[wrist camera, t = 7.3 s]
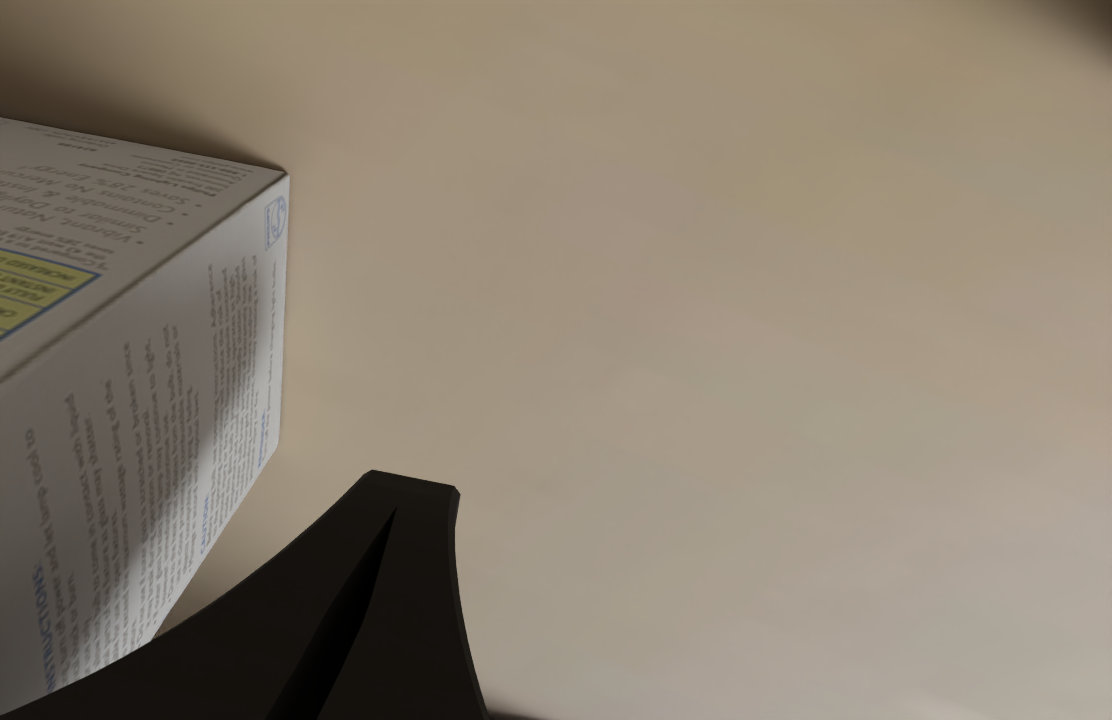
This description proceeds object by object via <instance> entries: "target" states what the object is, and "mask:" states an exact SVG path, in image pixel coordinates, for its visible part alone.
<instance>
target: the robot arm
mask: <svg viewBox="0 0 1112 720" xmlns="http://www.w3.org/2000/svg"><path fill="white" fill-rule="evenodd" d="M459 500H460V493H459V492H458V490H457V489H456V488H455V486H452V485H447V484H442V483H437V482H432V481H427V480H422V479H417V478H412V477H407V476H402V475H397V474H392V473H387V472H382V471H377V470H370V471H369V472H367V473H365V474H364V475H363V476H362V477H361V478H360V479H359V480H358V481H357V482H356V483H355V484H354V485H353V486H352V487H351V488H350V489H349V490H348V491H347V492H346V493H345V494H344V495H343V496H342V497H341V498H340V499H339V500H338V501H337V502H336V503H335V504H334V505H333V506H331V507H330V508H329V509H328V510H327V511H326V512H325V513H324V514H323V515H322V516H321V517H320V518H318V519H317V520H316V521H315V522H314V523H313V524H312V525H311V526H309V527H308V528H307V529H306V530H305V531H304V532H302V533H301V534H300V535H299V536H298V537H297V538H295V539H294V540H293V541H292V542H291V543H290V544H289V545H287V546H286V547H285V548H284V549H283V550H281V551H280V552H279V553H278V554H277V555H275V556H274V557H273V558H272V559H270V560H269V561H268V562H266V563H265V564H264V565H262V566H261V567H260V568H258V569H257V570H256V571H255V572H253V573H252V574H251V575H249V576H248V577H247V578H245V579H244V580H243V581H241V582H240V583H239V584H237V585H236V586H235V587H234V588H232V589H231V590H229V591H228V592H227V593H225V594H224V595H222V596H221V597H219V598H218V599H217V600H215V601H214V602H212V603H211V604H209V605H208V606H206V607H205V608H203V609H202V610H200V611H199V612H197V613H196V614H194V615H193V616H191V617H189V618H188V619H186V620H185V621H183V622H182V623H180V624H178V625H177V626H175V627H174V628H172V629H170V630H169V631H167V632H166V633H164V634H162V635H160V636H159V637H157V638H155V639H153V640H152V641H150V642H148V643H146V644H145V645H143V646H141V647H139V648H138V649H136V650H134V651H133V652H131V653H129V654H127V655H126V656H124V657H122V658H120V659H118V660H116V661H115V662H113V663H111V664H109V665H107V666H105V667H103V668H101V669H100V670H98V671H96V672H94V673H92V674H90V675H88V676H86V677H84V678H82V679H79V680H77V681H75V682H73V683H71V684H69V685H67V686H65V687H62V688H60V689H58V690H56V691H54V692H52V693H50V694H48V695H46V696H43V697H41V698H39V699H37V700H35V701H33V702H30V703H28V704H26V705H24V706H21V707H19V708H17V709H15V710H12V711H10V712H7V713H5V714H3V715H0V720H490V718H489V715H488V712H487V709H486V706H485V703H484V699H483V696H482V693H481V690H480V686H479V683H478V679H477V675H476V672H475V668H474V664H473V660H472V656H471V652H470V648H469V643H468V639H467V634H466V629H465V624H464V619H463V613H462V607H461V601H460V595H459V586H458V577H457V568H456V556H455V524H456V518H457V512H458V506H459Z"/></svg>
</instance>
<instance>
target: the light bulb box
mask: <svg viewBox="0 0 1112 720" xmlns="http://www.w3.org/2000/svg"><path fill="white" fill-rule="evenodd" d="M289 189H290V176H289V174H288V173H287V172H282V171H276V170H272V169H267V168H263V167H258V166H253V165H247V164H242V163H237V162H233V161H228V160H223V159H218V158H212V157H207V156H201V155H196V154H190V153H185V152H180V151H175V150H170V149H165V148H160V147H154V146H149V145H144V144H138V143H133V142H128V141H123V140H117V139H112V138H107V137H101V136H96V135H90V134H84V133H79V132H74V131H69V130H63V129H58V128H53V127H48V126H43V125H38V124H33V123H28V122H22V121H17V120H12V119H7V118H2V117H0V715H3V714H5V713H7V712H10V711H12V710H15V709H17V708H19V707H21V706H24V705H26V704H28V703H30V702H33V701H35V700H37V699H39V698H41V697H43V696H46V695H48V694H50V693H52V692H54V691H56V690H58V689H60V688H62V687H65V686H67V685H69V684H71V683H73V682H75V681H77V680H79V679H82V678H84V677H86V676H88V675H90V674H92V673H94V672H96V671H98V670H100V669H101V668H103V667H105V666H107V665H109V664H111V663H113V662H115V661H116V660H118V659H120V658H122V657H124V656H126V655H127V654H129V653H131V652H133V651H134V650H136V649H138V648H139V647H141V646H143V645H145V644H146V643H148V642H150V641H151V639H152V638H153V636H154V635H155V633H156V632H157V630H158V629H159V627H160V626H161V624H162V623H163V621H164V619H165V618H166V616H167V615H168V613H169V612H170V610H171V609H172V607H173V606H174V604H175V603H176V601H177V600H178V598H179V597H180V595H181V594H182V593H183V591H184V590H185V588H186V586H187V585H188V583H189V582H190V580H191V579H192V577H193V576H194V574H195V573H196V571H197V569H198V568H199V566H200V565H201V563H202V562H203V560H204V559H205V557H206V556H207V554H208V553H209V551H210V550H211V548H212V547H213V545H214V544H215V542H216V540H217V539H218V537H219V536H220V534H221V533H222V531H223V529H224V528H225V526H226V525H227V523H228V522H229V520H230V518H231V517H232V515H233V514H234V512H235V511H236V509H237V508H238V507H239V505H240V504H241V502H242V501H243V499H244V497H245V496H246V494H247V493H248V491H249V490H250V488H251V487H252V485H253V484H254V482H255V480H256V479H257V477H258V476H259V474H260V473H261V471H262V470H263V468H264V466H265V465H266V463H267V462H268V460H269V459H270V457H271V455H272V454H273V452H274V451H275V449H276V447H277V445H278V440H279V428H280V413H281V387H282V364H283V333H284V308H285V288H286V261H287V238H288V215H289Z"/></svg>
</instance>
